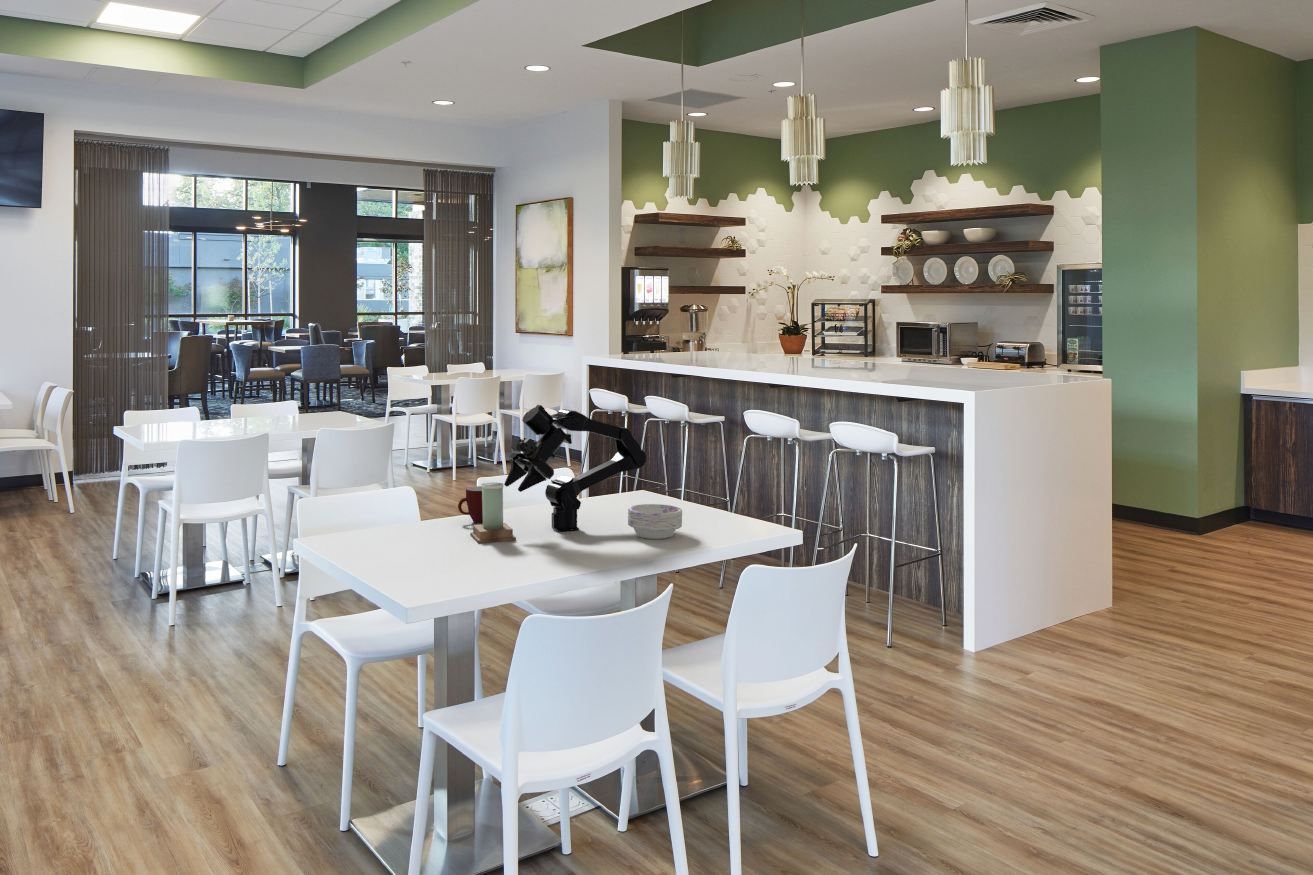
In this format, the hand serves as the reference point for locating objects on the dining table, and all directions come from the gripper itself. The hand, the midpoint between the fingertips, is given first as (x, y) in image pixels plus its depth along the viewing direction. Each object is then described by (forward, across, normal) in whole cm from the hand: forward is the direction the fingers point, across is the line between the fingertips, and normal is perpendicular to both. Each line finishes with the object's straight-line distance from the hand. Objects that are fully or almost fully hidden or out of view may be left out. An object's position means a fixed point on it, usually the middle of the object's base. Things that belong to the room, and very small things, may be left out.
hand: (512, 488), depth 276 cm
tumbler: (+12, 0, +3) cm, 12 cm away
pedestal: (+14, 0, +5) cm, 15 cm away
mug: (+11, -22, +8) cm, 26 cm away
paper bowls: (-14, +20, +34) cm, 42 cm away
